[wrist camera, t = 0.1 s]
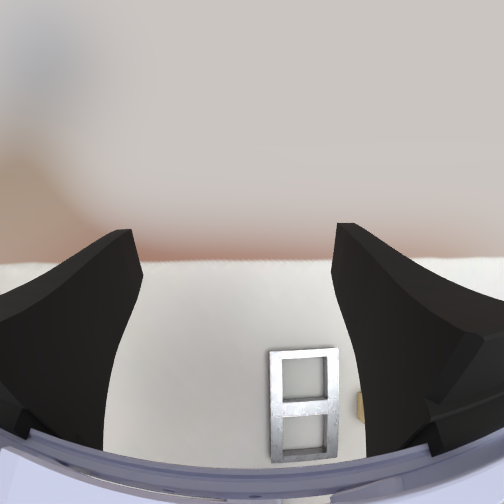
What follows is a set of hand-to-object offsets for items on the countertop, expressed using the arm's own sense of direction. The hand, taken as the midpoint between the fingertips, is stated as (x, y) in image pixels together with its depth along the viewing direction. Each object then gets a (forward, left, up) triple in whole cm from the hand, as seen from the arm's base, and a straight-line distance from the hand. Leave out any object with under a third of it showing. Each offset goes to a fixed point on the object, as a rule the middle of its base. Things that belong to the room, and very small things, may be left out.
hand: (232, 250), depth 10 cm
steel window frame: (-13, -7, -32) cm, 35 cm away
